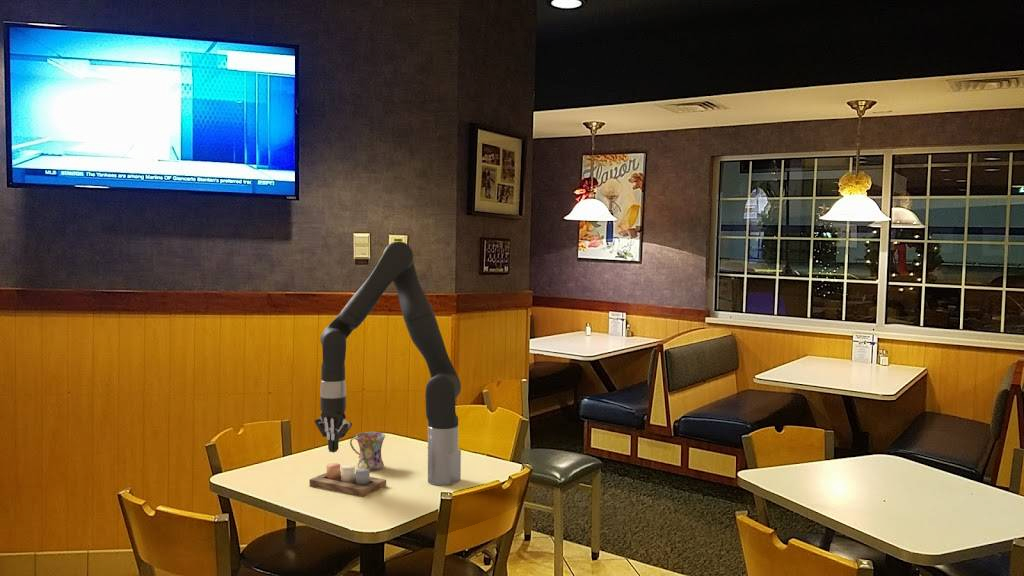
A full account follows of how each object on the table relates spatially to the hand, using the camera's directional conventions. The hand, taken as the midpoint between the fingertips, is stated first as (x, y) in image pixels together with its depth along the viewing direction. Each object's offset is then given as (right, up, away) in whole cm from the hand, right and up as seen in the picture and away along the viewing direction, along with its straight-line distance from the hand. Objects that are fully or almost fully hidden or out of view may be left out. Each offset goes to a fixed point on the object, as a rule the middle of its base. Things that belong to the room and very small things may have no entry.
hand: (333, 451), depth 239 cm
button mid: (+5, -8, -2) cm, 10 cm away
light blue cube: (+10, -9, -5) cm, 14 cm away
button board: (+5, -10, -2) cm, 11 cm away
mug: (+7, -9, +17) cm, 21 cm away
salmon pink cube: (0, -8, 0) cm, 8 cm away
